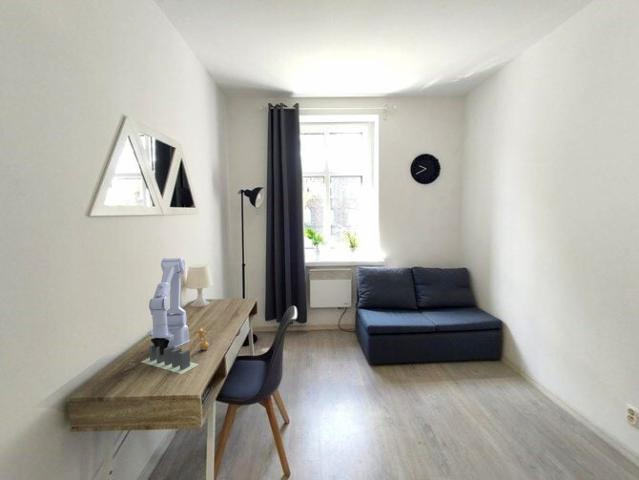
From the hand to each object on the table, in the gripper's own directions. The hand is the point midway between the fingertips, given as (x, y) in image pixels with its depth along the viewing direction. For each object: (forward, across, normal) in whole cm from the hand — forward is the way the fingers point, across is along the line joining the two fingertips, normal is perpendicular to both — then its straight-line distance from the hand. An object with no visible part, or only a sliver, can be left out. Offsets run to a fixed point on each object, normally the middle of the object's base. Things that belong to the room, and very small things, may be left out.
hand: (161, 353), depth 138 cm
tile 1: (+3, -5, 0) cm, 6 cm away
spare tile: (+4, 0, 0) cm, 4 cm away
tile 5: (+4, +14, 0) cm, 15 cm away
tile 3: (+4, +5, 0) cm, 6 cm away
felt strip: (+4, +5, 0) cm, 6 cm away
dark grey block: (+4, +10, 0) cm, 10 cm away
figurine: (+4, +9, +16) cm, 18 cm away
